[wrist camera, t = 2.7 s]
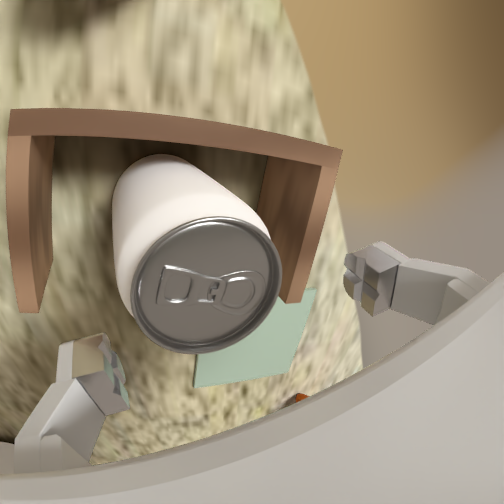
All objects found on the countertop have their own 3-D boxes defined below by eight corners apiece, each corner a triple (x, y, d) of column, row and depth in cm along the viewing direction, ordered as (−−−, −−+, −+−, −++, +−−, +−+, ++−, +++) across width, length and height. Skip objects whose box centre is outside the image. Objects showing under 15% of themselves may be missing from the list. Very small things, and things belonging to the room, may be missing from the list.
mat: (286, 370, 34) (287, 372, 34) (193, 385, 29) (194, 388, 29) (314, 287, 30) (316, 289, 30) (205, 293, 25) (207, 296, 25)
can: (190, 249, 23) (259, 361, 13) (104, 236, 20) (109, 359, 10) (216, 165, 21) (317, 225, 12) (125, 143, 18) (139, 184, 8)
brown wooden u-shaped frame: (259, 260, 26) (300, 302, 21) (38, 259, 18) (19, 312, 13) (286, 136, 22) (342, 149, 17) (41, 109, 15) (10, 109, 9)
